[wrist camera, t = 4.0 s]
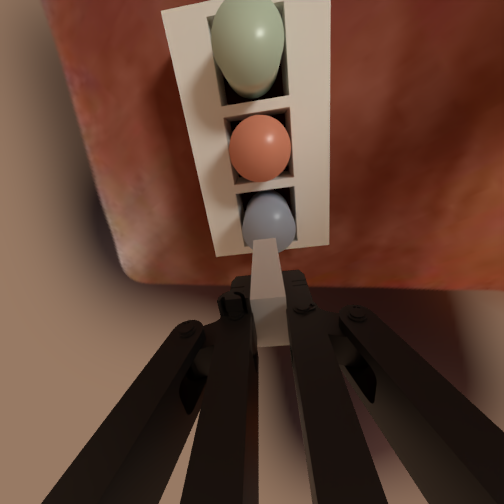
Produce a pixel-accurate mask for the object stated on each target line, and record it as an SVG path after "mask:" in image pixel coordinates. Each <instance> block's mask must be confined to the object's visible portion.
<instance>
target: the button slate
mask: <svg viewBox="0 0 504 504" xmlns="http://www.w3.org/2000/svg"><path fill="white" fill-rule="evenodd" d="M295 232H296V226H295V221H294V219H293V216H292V214H291V211H290V209H289V206H288V204H287V202H286V200H285V198H284V197H283V196H282V195H281V194H279V193H278V192H275V191H272V190H264V191H260V192H258V193H256V194H255V195H254V196H252V198H251V199H250V200H249V202H248V204H247V208H246V212H245V217H244V221H243V226H242V234H243V238H244V240H245V242H246V244H247V245H248V246H249V247H250V248H251V249H252V250H253V240H260V239H269V238H276V243H277V249H278V253H279V252H282V251H283V250H285V249H286V248H287V247H288V246H289V245H290V244H291V243H292V241H293V239H294V237H295Z"/></svg>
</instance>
